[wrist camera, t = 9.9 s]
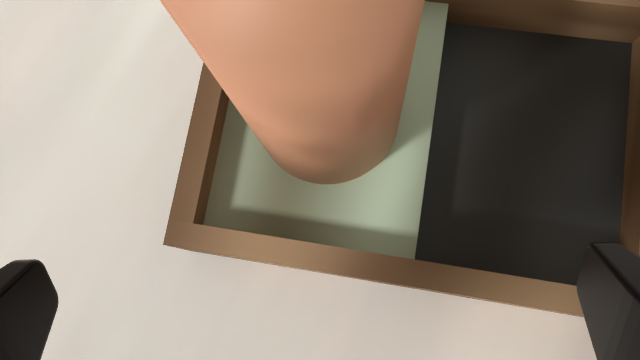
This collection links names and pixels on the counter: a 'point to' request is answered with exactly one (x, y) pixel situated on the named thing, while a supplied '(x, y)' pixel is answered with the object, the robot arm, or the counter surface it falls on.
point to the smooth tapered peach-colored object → (310, 75)
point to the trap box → (450, 162)
